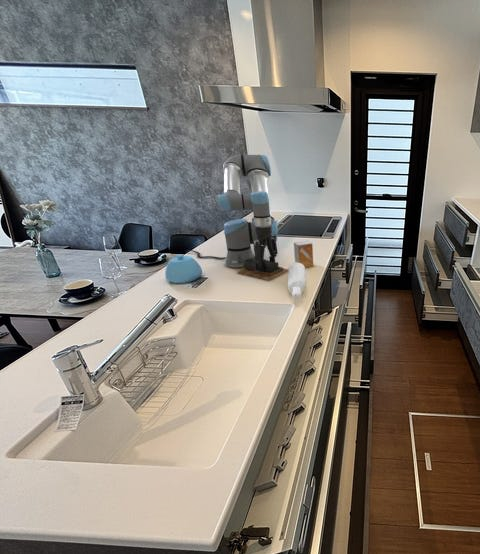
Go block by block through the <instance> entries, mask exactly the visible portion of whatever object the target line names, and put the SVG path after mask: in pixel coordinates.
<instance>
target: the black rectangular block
mask: <svg viewBox="0 0 480 554" xmlns="http://www.w3.org/2000/svg"><path fill="white" fill-rule="evenodd" d="M264 261H265V266H266V272H267V273H271V272H273V271H275V270H277V269H279V268H278V267H279V262H277V261H275V262H273V261H270V260H268V259H265V260H264ZM257 267H258V271H261V268H260V267H259V263H257Z"/></svg>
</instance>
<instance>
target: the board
mask: <svg viewBox="0 0 480 554" xmlns="http://www.w3.org/2000/svg"><path fill="white" fill-rule="evenodd" d="M264 260H266V259H265V258H264ZM243 262H244V268H241V269H240V270H237V274H240V275H243V276H244V275H245V276H248V277H252V278H257V279H260V280H265V281H269V282H270V281H272V280H273V279H275V278H277V277H279V276H281V275H283V274H285V273H287V272H289V268H284V267H283V266H278V268H279V269H277V270H275V271H273V272H271V273H267V272H263V271H258V267H257V263H259V261H255V257H253V258H250V259H248V260H245V261H243Z"/></svg>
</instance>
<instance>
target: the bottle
mask: <svg viewBox="0 0 480 554" xmlns="http://www.w3.org/2000/svg"><path fill="white" fill-rule="evenodd" d="M306 273H307V271H306V268H305V267H304V265H303V264H301V263H295V262H293V263H291V264H290V266H289V267H288V275H287V276H288V277H287V289H288V291H289V293H290V294H291V299H292V300H293V301H294V302H296V303H297V302H300V301H301V299H302V298H303V294H304V293H305V292H306V289H307V274H306Z"/></svg>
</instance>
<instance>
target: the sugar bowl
mask: <svg viewBox="0 0 480 554" xmlns="http://www.w3.org/2000/svg"><path fill="white" fill-rule="evenodd" d="M202 274H203V269H202V267H201V265H200V263H199V262H197V260H195V258H193V257H192V256H189V255H184V254H181V253H180V254H177V255H176V256H175V257H172V258H171V259H169V260H168V262H167V265H166V267H165V273H164V276H165V279H166V280H168V281H169V282H171V283H173V284H186V283H190V282H193V281H194V282H195V281H196V280H198V279H199V278H200V277H201V276H202Z"/></svg>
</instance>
